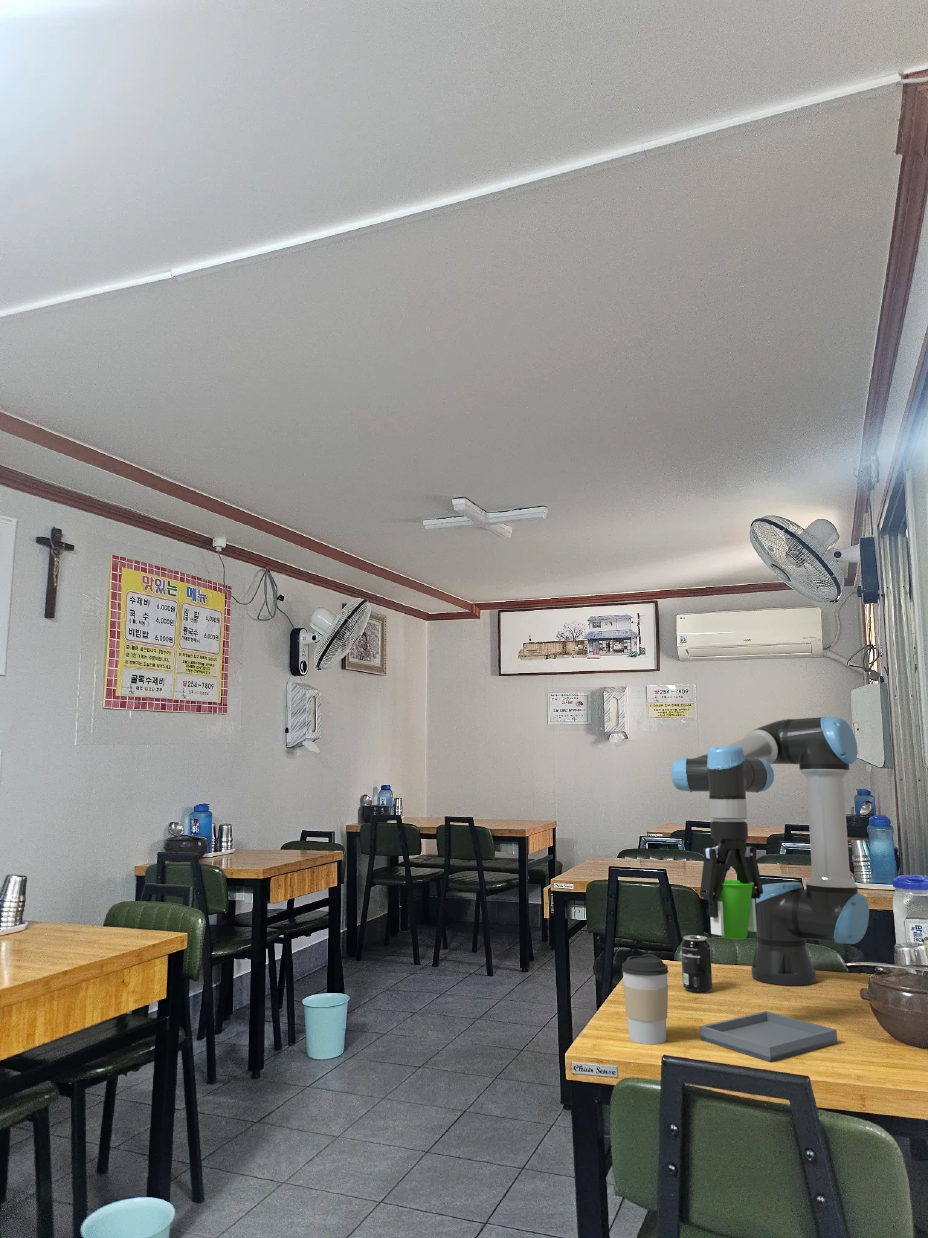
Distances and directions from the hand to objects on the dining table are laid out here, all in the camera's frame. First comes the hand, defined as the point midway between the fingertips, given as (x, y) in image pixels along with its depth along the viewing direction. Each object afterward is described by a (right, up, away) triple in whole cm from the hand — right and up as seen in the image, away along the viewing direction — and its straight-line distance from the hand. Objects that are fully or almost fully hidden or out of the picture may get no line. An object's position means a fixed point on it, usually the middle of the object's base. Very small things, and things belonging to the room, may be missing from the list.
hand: (734, 932), depth 176 cm
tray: (+3, -16, -13) cm, 21 cm away
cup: (0, -1, 0) cm, 1 cm away
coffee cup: (-20, -17, -11) cm, 28 cm away
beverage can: (0, -24, +27) cm, 36 cm away
